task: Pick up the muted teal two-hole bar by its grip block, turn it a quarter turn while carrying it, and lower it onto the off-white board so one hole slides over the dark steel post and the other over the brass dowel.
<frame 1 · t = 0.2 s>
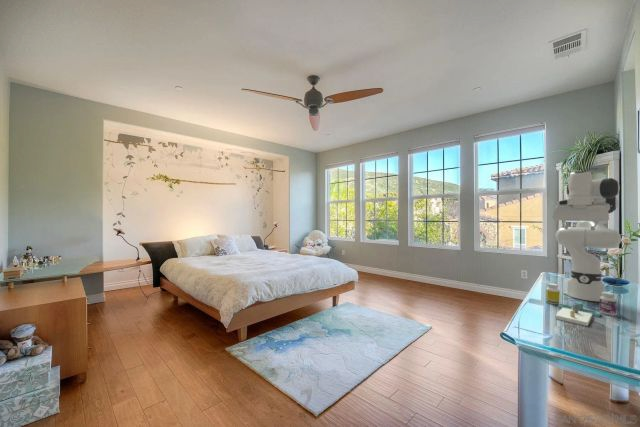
hand: (579, 229, 133), 38 cm above the table, tool pointing down, fingers open, 8 cm apart
supplement bottle: (552, 303, 138), on the table
post board: (574, 317, 118), on the table
pill bottle: (607, 314, 124), on the table
teal bar: (578, 311, 126), on the table
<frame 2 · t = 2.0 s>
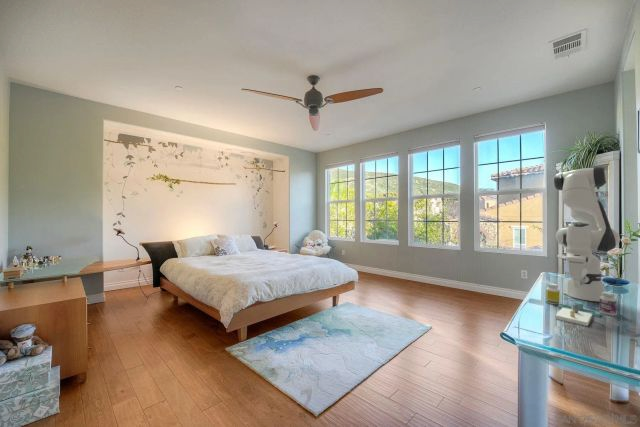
hand: (578, 286, 126), 12 cm above the table, tool pointing down, fingers open, 8 cm apart
nothing on the table moved.
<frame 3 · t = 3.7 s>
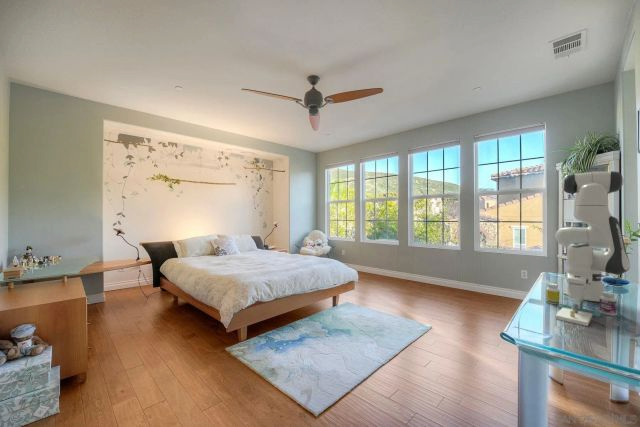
hand: (578, 306, 126), 2 cm above the table, tool pointing down, fingers closed on teal bar, 5 cm apart
teal bar: (578, 311, 126), on the table, touching gripper
everything else where it was.
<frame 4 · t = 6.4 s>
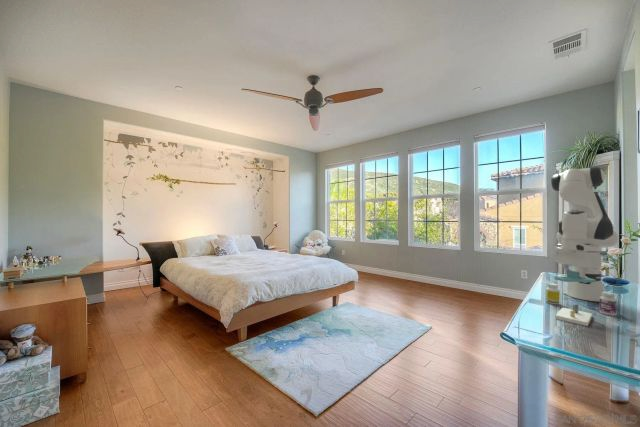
hand: (574, 275, 122), 18 cm above the table, tool pointing down, fingers closed on teal bar, 5 cm apart
teal bar: (574, 280, 122), point 16 cm above the table, touching gripper
everything else where it was.
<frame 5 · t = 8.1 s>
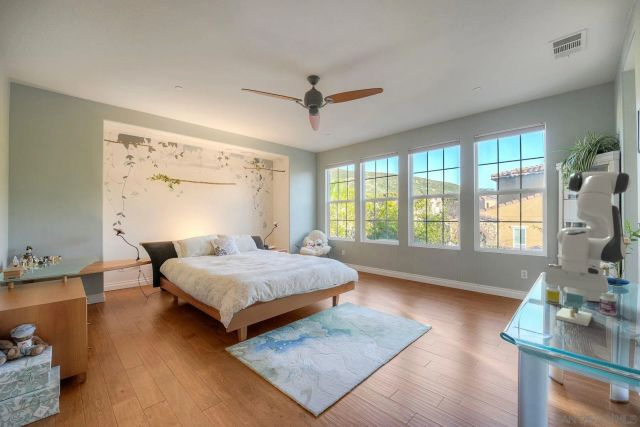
hand: (574, 298, 118), 9 cm above the table, tool pointing down, fingers closed on teal bar, 5 cm apart
teal bar: (574, 303, 118), point 6 cm above the table, touching gripper
everything else where it was.
when the fingers open (5 cm above the table, at t = 9.4 s): teal bar stays where it is, resting on post board.
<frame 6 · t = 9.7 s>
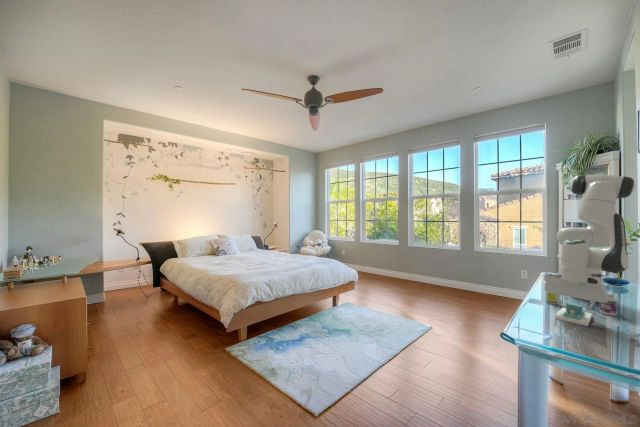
hand: (574, 307, 118), 5 cm above the table, tool pointing down, fingers open, 8 cm apart
teal bar: (574, 314, 118), point 1 cm above the table, touching post board
everything else where it was.
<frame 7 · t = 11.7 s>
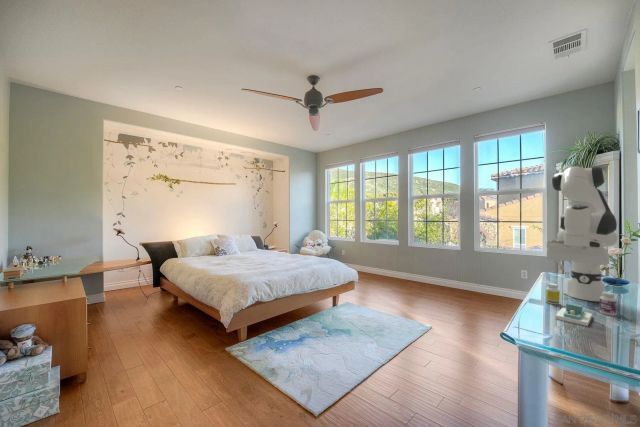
hand: (575, 271, 120), 20 cm above the table, tool pointing down, fingers open, 8 cm apart
nothing on the table moved.
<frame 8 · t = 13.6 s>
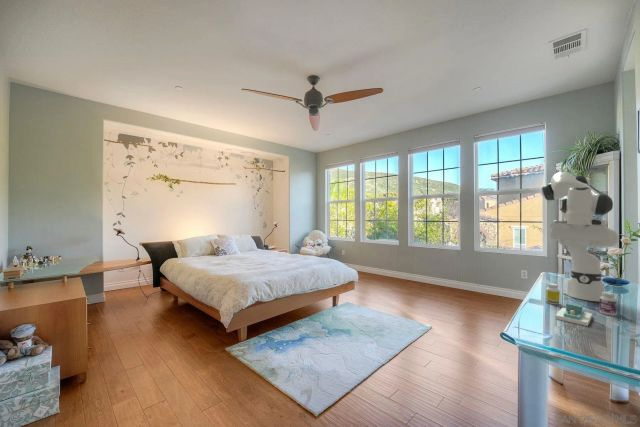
hand: (579, 250, 126), 29 cm above the table, tool pointing down, fingers open, 8 cm apart
nothing on the table moved.
at the end: teal bar 0.1 cm off-centre on the post board, point 1.5 cm above the post board's base; teal bar tilted 0°; the gripper is holding nothing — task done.
